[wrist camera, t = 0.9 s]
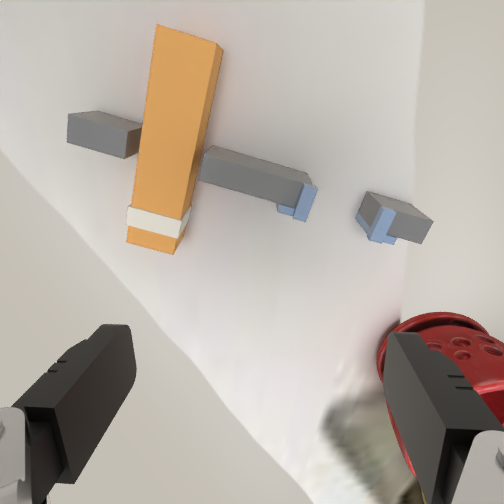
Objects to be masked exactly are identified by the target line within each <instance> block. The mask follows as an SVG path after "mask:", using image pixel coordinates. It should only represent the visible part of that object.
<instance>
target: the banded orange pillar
mask: <svg viewBox="0 0 504 504" xmlns="http://www.w3.org/2000/svg"><path fill="white" fill-rule="evenodd" d="M222 54H223V49H222V48H221V47H220V46H219V45H218V44H217V43H214V42H211V41H208V40H204V39H201V38H198V37H195V36H192V35H189V34H186V33H183V32H180V31H177V30H174V29H170V28H167V27H164V26H161V25H158V24H156V31H155V39H154V46H153V53H152V60H151V67H150V75H149V82H148V89H147V96H146V104H145V111H144V118H143V125H142V132H141V140H140V147H139V154H138V161H137V168H136V176H135V183H134V190H133V197H132V204H130V205H129V206H128V211H127V218H126V225H128V233H127V240H126V242H127V243H131V244H135V245H138V246H142V247H146V248H150V249H153V250H157V251H161V252H165V253H168V254H172V255H173V254H174V252H175V251H176V249H177V247H178V245H179V243H180V242H181V240H182V238H183V236H184V231H185V226H186V224H187V223H188V220H189V216H190V211H191V206H192V205H190V203H191V199H192V194H193V189H194V185H195V180H196V175H197V171H198V166H199V161H200V157H201V152H202V147H203V143H204V138H205V133H206V129H207V124H208V119H209V115H210V110H211V105H212V101H213V96H214V92H215V87H216V82H217V78H218V73H219V68H220V64H221V59H222Z"/></svg>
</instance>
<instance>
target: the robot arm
mask: <svg viewBox="0 0 504 504" xmlns="http://www.w3.org/2000/svg"><path fill="white" fill-rule="evenodd" d="M135 378H136V361H135V355H134V348H133V342H132V335H131V330H130V328H129V326H128V325H117V324H115V325H114V324H103V325H101V326H100V327H99V328H98V329H97V330H96V331H95V332H94V333H93V334H92V335H91V336H90V338H89V339H88V340H83V341H81V342H80V343H78V344H76V345H75V346H73V347H71V348H70V349H68V350H67V351H66V352H65V353H64V354H63V355H62V356H61V357H60V358H59V359H58V360H57V363H54V364H53V365H52V366H51V367H50V368H49V369H48V372H47V373H44V374H43V375H42V376H41V377H40V378H39V379H38V380H37V381H36V383H34V384H33V385H32V386H31V387H30V388H29V389H28V390H27V391H26V392H25V393H24V394H23V395H22V396H21V397H20V398H19V399H18V400H17V401H16V402H15V403H14V404H13V405H12V406H11V407H4V408H0V504H51V503H50V498H49V495H48V494H49V492H50V490H51V489H52V487H53V486H54V484H55V483H64V484H74V483H75V482H76V480H77V479H78V477H79V475H80V474H81V472H82V470H83V468H84V467H85V465H86V464H87V462H88V460H89V459H90V457H91V455H92V454H93V452H94V450H95V448H96V447H97V445H98V443H99V442H100V440H101V438H102V437H103V435H104V433H105V432H106V430H107V428H108V427H109V425H110V423H111V422H112V420H113V418H114V417H115V415H116V413H117V411H118V410H119V408H120V407H121V405H122V403H123V402H124V400H125V398H126V397H127V395H128V393H129V392H130V390H131V388H132V386H133V384H134V381H135ZM383 386H384V393H385V397H386V400H387V402H388V405H389V407H390V410H391V412H392V415H393V417H394V420H395V423H396V425H397V428H398V430H399V433H400V435H401V438H402V441H403V443H404V446H405V448H406V451H407V453H408V456H409V459H410V461H411V464H412V466H413V469H414V471H415V474H416V477H417V479H418V482H419V484H420V487H421V489H422V492H423V495H424V497H425V500H426V502H427V504H504V427H503V426H502V425H501V423H500V422H499V421H498V419H497V418H496V417H495V415H494V414H493V413H492V411H491V410H490V409H489V407H488V406H487V405H486V403H485V402H484V401H483V399H482V398H481V397H480V395H479V394H478V393H477V391H476V390H474V389H473V386H472V385H471V383H470V382H469V381H468V379H467V378H465V375H464V374H463V373H462V371H461V370H460V369H459V367H458V366H457V365H456V363H455V362H454V361H452V360H451V359H449V358H448V357H447V356H445V355H444V354H443V353H441V352H440V351H438V350H430V349H429V348H428V346H427V345H426V343H425V342H424V340H423V339H422V338H421V336H420V335H419V334H418V333H415V332H390V333H389V335H388V340H387V348H386V356H385V364H384V373H383Z"/></svg>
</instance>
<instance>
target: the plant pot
mask: <svg viewBox="0 0 504 504" xmlns="http://www.w3.org/2000/svg"><path fill="white" fill-rule="evenodd" d="M391 332H415V333H418V334H419V335H420V336H421V338H422V339H423V340H424V342H425V343H426V345H427V346H428V348H429V349H430V350H438V351H440V352H441V353H443V354H444V355H445V356H447V357H448V358H449V359H451V360H452V361H454V362H455V363H456V365H457V366H458V367H459V369H460V370H461V371H462V373H463V374H464V375H465V378H467V379H468V381H469V382H470V383H471V385H472V386H473V389H474V390H476V391H477V393H478V394H479V395H480V397H481V398H482V399H483V401H484V402H485V403H486V405H487V406H488V407H489V409H490V410H491V411H492V413H493V414H494V415H495V417H496V418H497V419H498V421H499V422H500V423H501V425H502V426H503V427H504V343H503V342H501V341H499V340H497V339H495V338H494V337H491V336H490V335H489V334H488V332H487V331H486V330H485V329H484V328H483V327H482V326H481V325H480V324H479V323H477V322H476V321H474V320H473V319H471V318H469V317H466V316H464V315H460V314H456V313H451V312H433V313H426V314H422V315H418V316H416V317H413V318H411V319H409V320H407V321H405V322H403V323H401V324H400V325H398V326H397V327H396V328H395V329H393V330H392V331H391ZM387 340H388V336H387V337H386V338H385V340H384V341H383V343H382V345H381V347H380V349H379V352H378V357H377V370H378V374H379V377H380V379H381V381H382V383H383V373H384V364H385V356H386V348H387ZM386 402H387V400H386ZM387 408H388V413H389V416H390V420H391V423H392V426H393V429H394V432H395V435H396V438H397V441H398V444H399V446H400V449H401V451H402V454H403V456H404V458H405V460H406V463H407V465H408V467H409V469H410V470H411V472H412V474H413V475H414V476H415V477H416V474H415V471H414V469H413V466H412V464H411V461H410V459H409V456H408V453H407V451H406V448H405V446H404V443H403V441H402V438H401V435H400V433H399V430H398V428H397V425H396V423H395V420H394V417H393V415H392V412H391V410H390V407H389V405H388V402H387ZM416 478H417V477H416Z"/></svg>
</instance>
